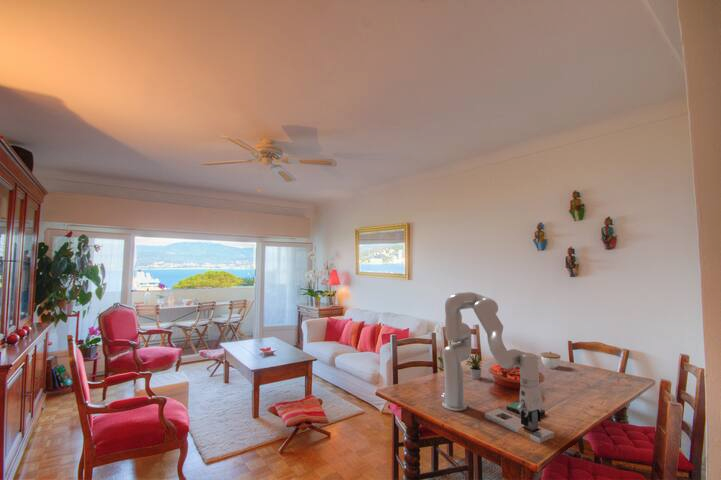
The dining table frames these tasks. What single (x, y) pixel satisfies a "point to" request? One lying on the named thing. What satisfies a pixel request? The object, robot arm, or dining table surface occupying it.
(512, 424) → the grey slotted board
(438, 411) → the dining table surface
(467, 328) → the robot arm
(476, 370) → the house plant
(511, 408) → the disk drive
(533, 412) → the steel block
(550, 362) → the lidded bowl
